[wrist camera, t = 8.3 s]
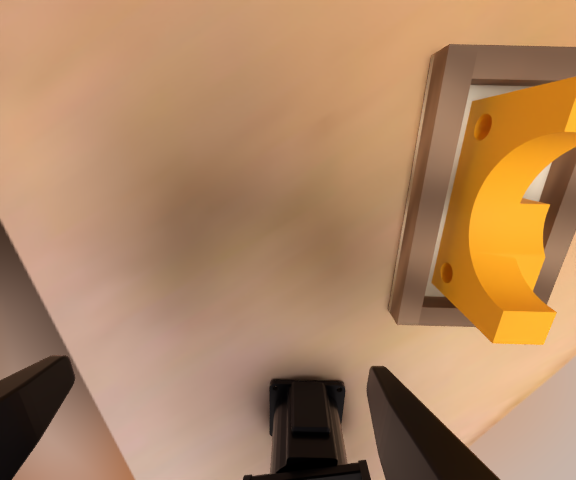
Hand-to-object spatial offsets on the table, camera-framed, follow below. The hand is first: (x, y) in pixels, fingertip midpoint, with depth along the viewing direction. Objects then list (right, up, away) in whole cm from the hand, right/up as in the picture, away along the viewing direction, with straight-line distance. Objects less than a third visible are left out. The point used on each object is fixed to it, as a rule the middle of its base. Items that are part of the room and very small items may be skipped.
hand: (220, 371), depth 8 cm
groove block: (+15, +6, +10) cm, 19 cm away
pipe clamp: (+15, +6, +10) cm, 19 cm away
